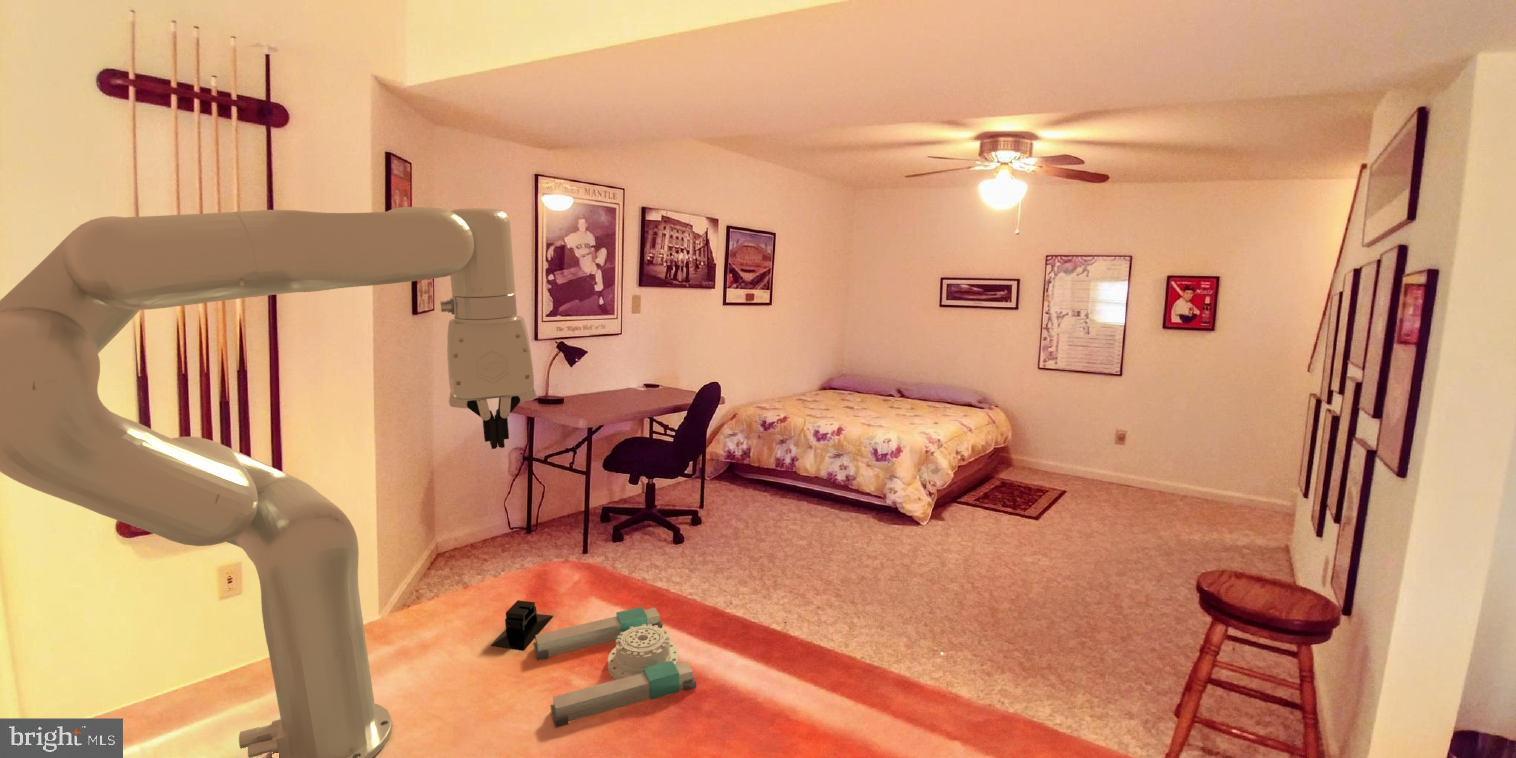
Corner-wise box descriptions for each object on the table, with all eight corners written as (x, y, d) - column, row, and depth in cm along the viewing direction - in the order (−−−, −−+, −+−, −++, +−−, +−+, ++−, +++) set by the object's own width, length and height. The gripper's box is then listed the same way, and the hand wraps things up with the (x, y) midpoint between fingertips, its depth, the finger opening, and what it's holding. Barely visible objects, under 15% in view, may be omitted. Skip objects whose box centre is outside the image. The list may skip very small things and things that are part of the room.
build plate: (523, 661, 105) (520, 633, 104) (477, 655, 107) (474, 627, 106) (562, 614, 117) (560, 588, 116) (520, 609, 119) (518, 583, 117)
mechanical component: (597, 684, 100) (668, 691, 99) (595, 655, 99) (667, 662, 97) (621, 641, 110) (686, 648, 108) (620, 615, 109) (686, 621, 107)
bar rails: (555, 727, 91) (553, 707, 91) (533, 648, 107) (532, 631, 107) (696, 687, 99) (695, 668, 98) (656, 619, 115) (656, 602, 114)
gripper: (421, 316, 87) (437, 462, 91) (550, 308, 93) (559, 446, 97) (420, 307, 93) (435, 444, 98) (541, 301, 100) (550, 430, 104)
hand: (497, 445), depth 98 cm, fingers closed
